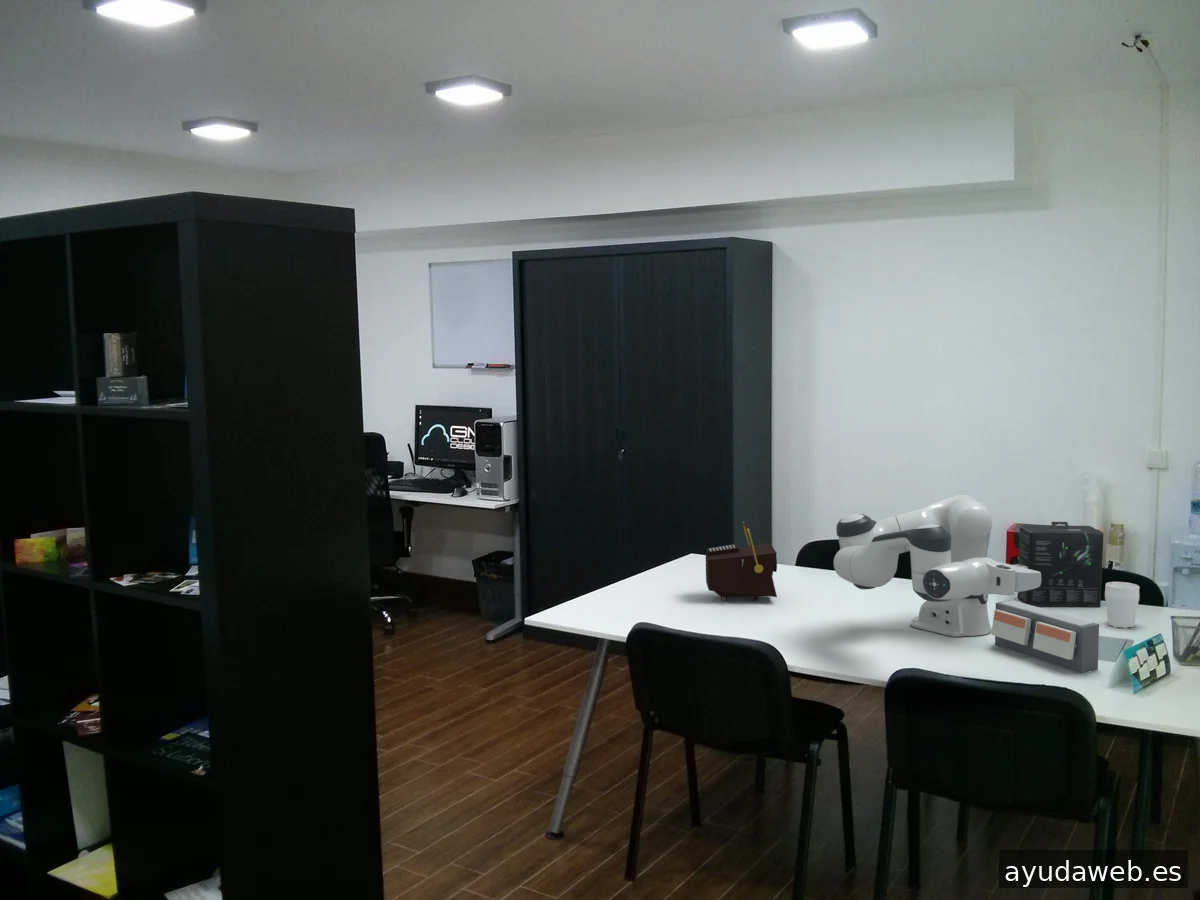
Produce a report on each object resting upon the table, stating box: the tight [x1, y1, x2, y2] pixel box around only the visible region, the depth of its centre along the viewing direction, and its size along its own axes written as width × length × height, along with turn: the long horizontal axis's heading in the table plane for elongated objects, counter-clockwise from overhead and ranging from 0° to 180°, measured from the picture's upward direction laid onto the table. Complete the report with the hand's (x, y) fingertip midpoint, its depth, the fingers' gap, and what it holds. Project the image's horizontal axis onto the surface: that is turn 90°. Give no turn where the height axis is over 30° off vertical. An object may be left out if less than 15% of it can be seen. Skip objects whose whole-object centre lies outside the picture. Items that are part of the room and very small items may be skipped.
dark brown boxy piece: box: [705, 521, 778, 602], centre depth 339 cm, size 16×23×25 cm
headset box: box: [1017, 521, 1104, 608], centre depth 324 cm, size 22×12×26 cm, turn 84°
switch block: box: [994, 599, 1100, 675], centre depth 274 cm, size 12×28×12 cm, turn 26°
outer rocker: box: [1033, 622, 1077, 659], centre depth 264 cm, size 3×12×7 cm, turn 26°
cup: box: [1104, 581, 1140, 629], centre depth 298 cm, size 9×9×12 cm
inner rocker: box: [990, 609, 1032, 645], centre depth 276 cm, size 3×12×7 cm, turn 26°
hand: (1023, 568), depth 256 cm, fingers closed
